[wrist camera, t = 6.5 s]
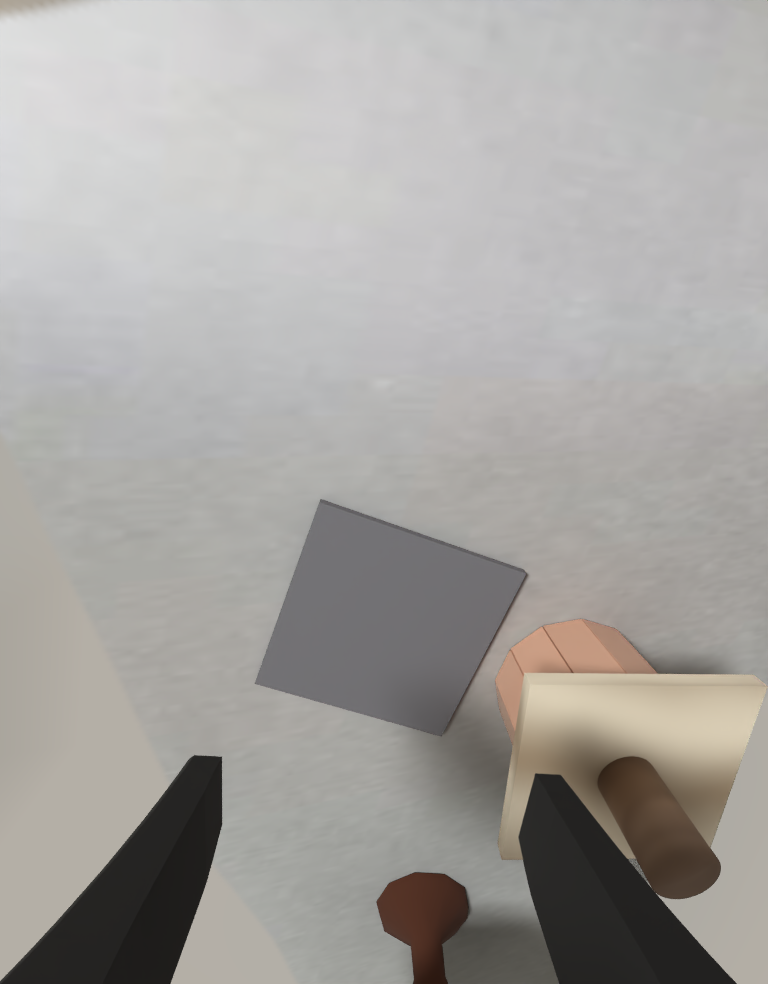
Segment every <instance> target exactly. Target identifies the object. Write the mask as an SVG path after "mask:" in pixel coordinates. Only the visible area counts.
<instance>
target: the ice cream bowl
mask: <svg viewBox="0 0 768 984" xmlns="http://www.w3.org/2000/svg"><path fill="white" fill-rule="evenodd" d="M377 906H378V910H379V914H380V917H381V921H382V924H383V928H384V931H385V932H387V933H388V934H390V935H392V936H393V937H395V938H397V939H398V940H400V941H402V942H404V943H405V944H407V945H409V946H411V951H412V962H413V973H414V982H413V984H448V982H447V979H446V977H445V968H444V958H443V948H442V944H443V943H444V942H446V941H447V940H448V939H450V938H451V937H452V936H454V935H455V934H456V932H457V931H458V930H459V928H460V927H461V926H462V924H463V923H464V922H465V921H466V919H467V918H468V903H467V898H466V892H465V887H463V886H462V885H460V884H459V883H457V882H455V881H454V880H452V879H451V878H449V877H448V876H446V875H445V874H433V873H413V874H410V875H408V876H405V877H403V878H401V879H398V880H396V881H393V882H391V883H389V884H388V885H387V887H386V888H385V890H384V891H383V893H382V894H381V896H380V897H379V899H378V900H377Z"/></svg>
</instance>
